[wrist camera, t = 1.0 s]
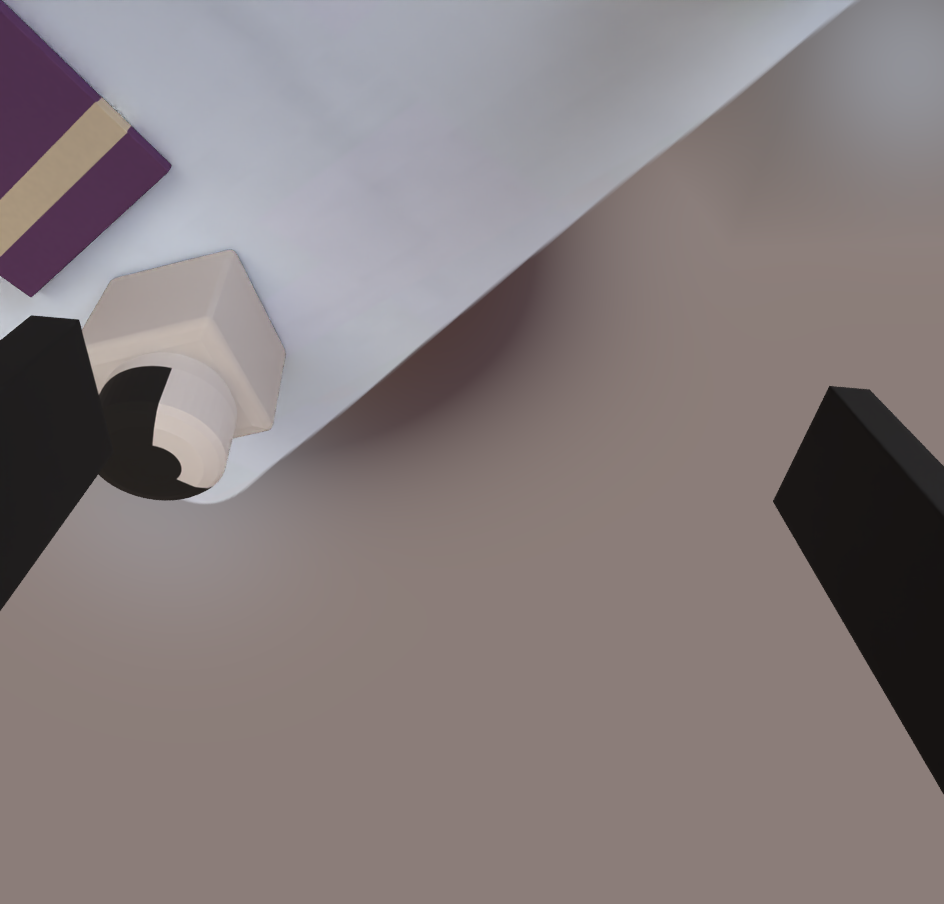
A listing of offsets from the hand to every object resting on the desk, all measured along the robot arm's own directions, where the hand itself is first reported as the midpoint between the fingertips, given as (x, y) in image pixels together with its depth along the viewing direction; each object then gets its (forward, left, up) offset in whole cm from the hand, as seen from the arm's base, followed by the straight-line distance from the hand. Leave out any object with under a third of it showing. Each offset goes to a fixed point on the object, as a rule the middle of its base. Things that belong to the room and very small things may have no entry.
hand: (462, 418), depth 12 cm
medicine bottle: (+11, -14, -25) cm, 31 cm away
